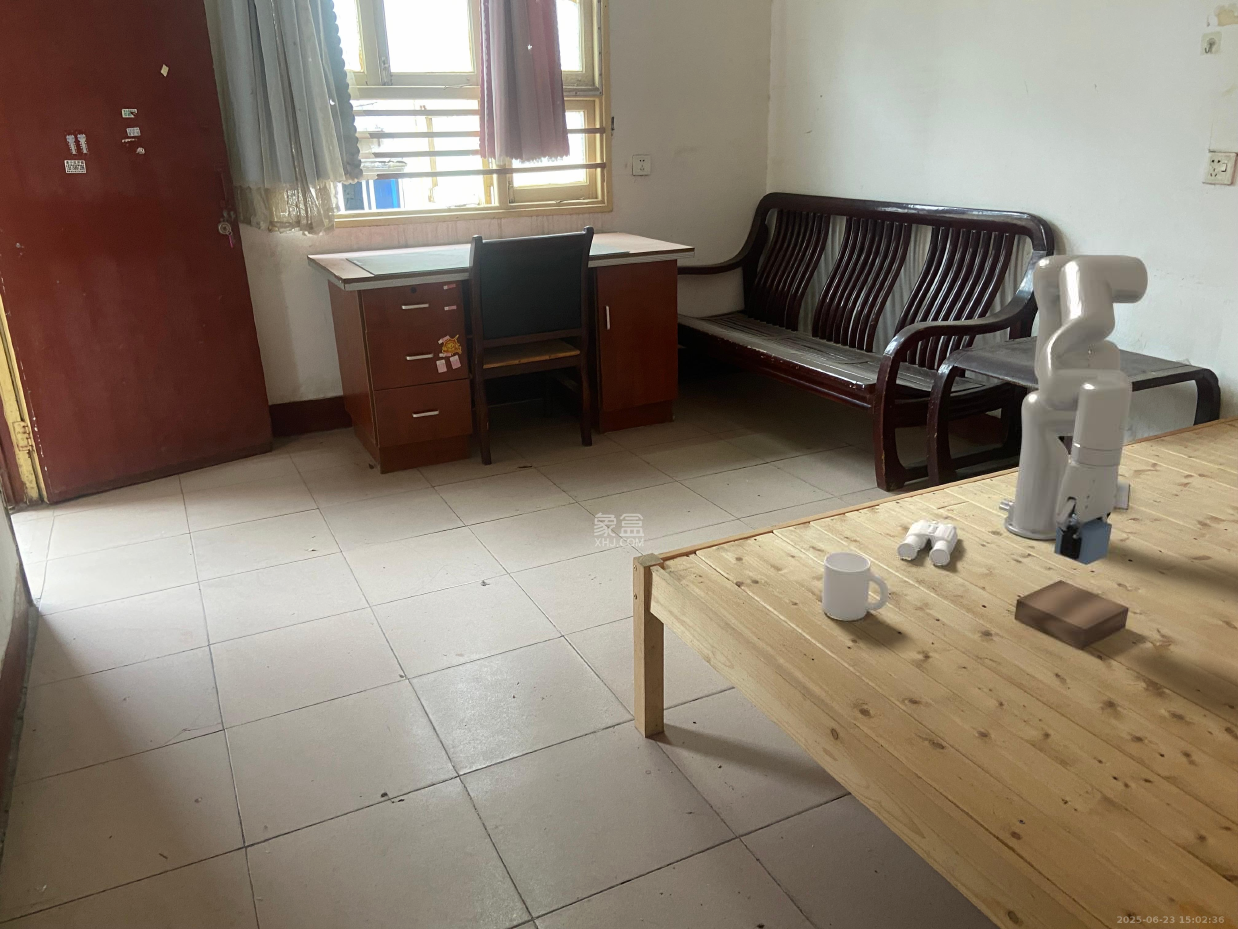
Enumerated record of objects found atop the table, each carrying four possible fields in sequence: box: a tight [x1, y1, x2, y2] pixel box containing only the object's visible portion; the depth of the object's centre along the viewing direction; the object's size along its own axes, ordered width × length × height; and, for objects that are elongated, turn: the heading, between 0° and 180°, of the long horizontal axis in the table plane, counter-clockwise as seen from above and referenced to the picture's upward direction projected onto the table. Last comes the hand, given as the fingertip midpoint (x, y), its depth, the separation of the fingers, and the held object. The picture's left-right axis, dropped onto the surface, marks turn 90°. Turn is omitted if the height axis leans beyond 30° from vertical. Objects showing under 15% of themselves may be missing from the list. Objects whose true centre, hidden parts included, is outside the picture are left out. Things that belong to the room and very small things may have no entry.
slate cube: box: [1053, 514, 1113, 566], centre depth 157 cm, size 6×6×6 cm
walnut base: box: [1013, 579, 1130, 651], centre depth 162 cm, size 13×13×4 cm
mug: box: [821, 551, 889, 621], centre depth 166 cm, size 12×8×10 cm
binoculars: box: [896, 519, 959, 567], centre depth 192 cm, size 10×16×5 cm, turn 151°
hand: (1080, 550), depth 157 cm, fingers closed on slate cube, 6 cm apart
